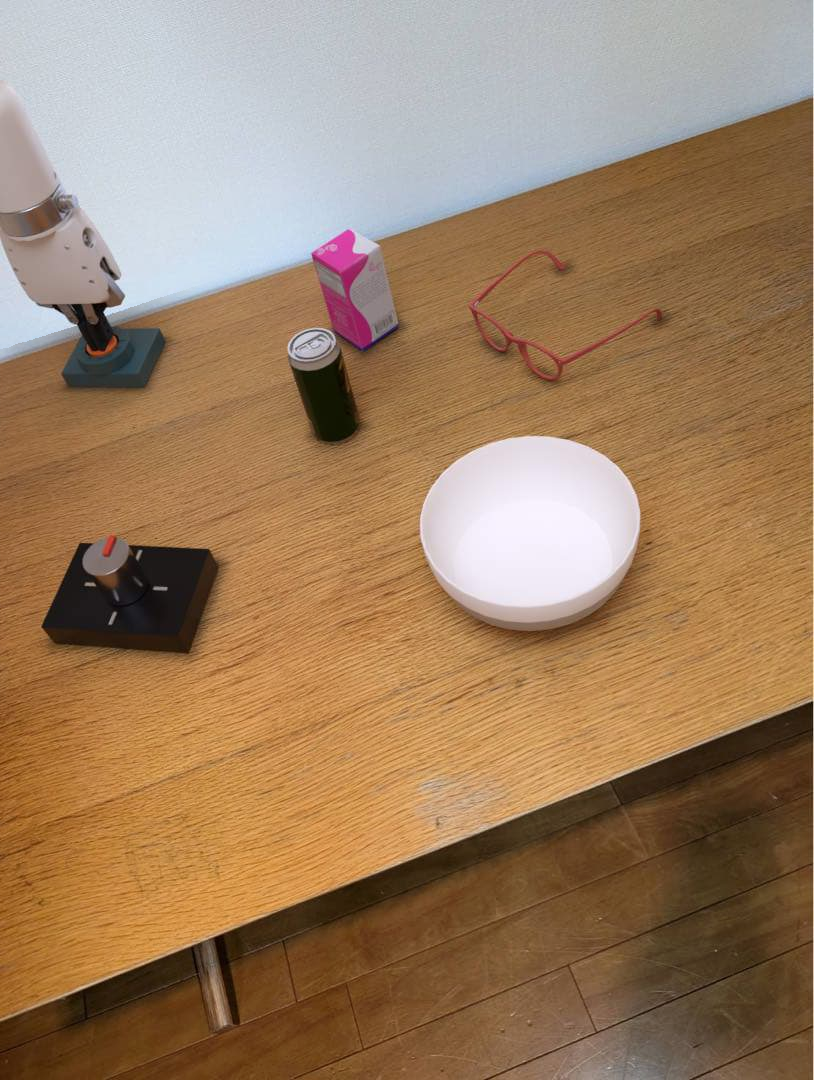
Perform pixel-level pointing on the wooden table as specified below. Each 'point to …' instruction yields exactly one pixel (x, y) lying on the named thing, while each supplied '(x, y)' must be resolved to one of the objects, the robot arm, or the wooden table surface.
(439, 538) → the bowl
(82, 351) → the button block
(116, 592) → the dark cylinder with disc
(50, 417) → the wooden table surface
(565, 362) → the red eyeglasses
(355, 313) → the supplement box
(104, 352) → the button
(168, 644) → the knob panel
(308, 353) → the beer can
